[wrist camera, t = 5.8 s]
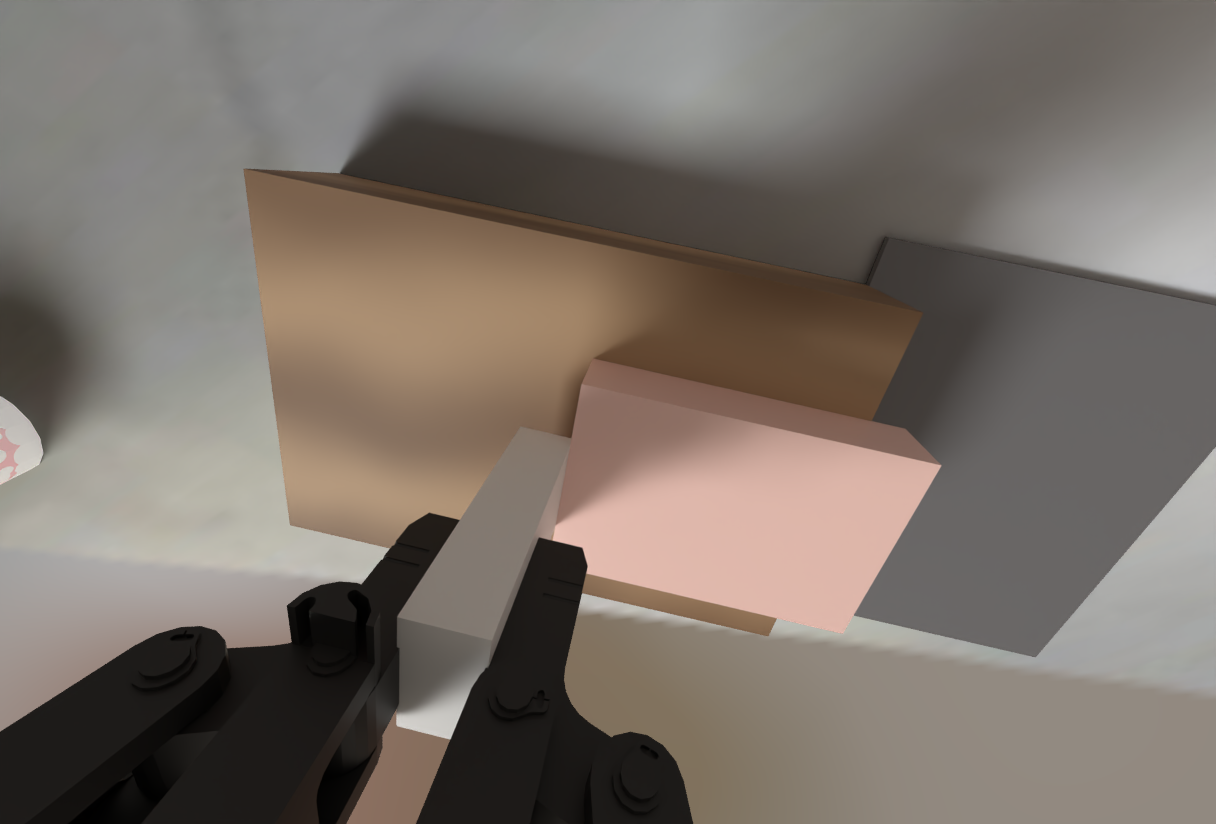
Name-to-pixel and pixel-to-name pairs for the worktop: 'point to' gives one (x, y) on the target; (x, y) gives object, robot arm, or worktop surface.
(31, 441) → the beverage cup
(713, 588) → the block
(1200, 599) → the worktop surface
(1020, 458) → the mat
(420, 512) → the brown wooden slab
